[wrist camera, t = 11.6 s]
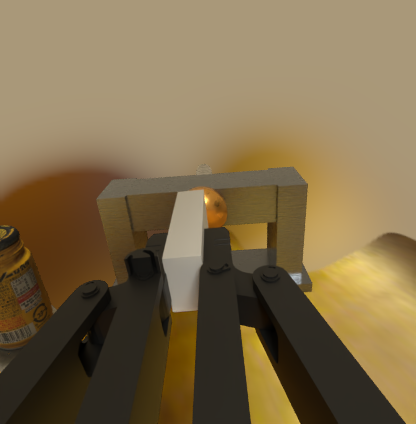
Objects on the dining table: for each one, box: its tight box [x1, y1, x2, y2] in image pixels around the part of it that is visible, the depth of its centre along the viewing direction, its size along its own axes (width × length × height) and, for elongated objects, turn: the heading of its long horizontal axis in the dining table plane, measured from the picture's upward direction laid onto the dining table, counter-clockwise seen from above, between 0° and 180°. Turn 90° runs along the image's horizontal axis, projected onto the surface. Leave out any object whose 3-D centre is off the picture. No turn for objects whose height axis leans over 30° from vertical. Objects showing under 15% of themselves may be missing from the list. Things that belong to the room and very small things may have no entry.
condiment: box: [0, 225, 57, 372], centre depth 31 cm, size 7×8×12 cm
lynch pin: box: [189, 164, 227, 228], centre depth 38 cm, size 5×14×5 cm, turn 0°
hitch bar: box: [97, 167, 312, 292], centre depth 37 cm, size 24×8×13 cm, turn 90°
